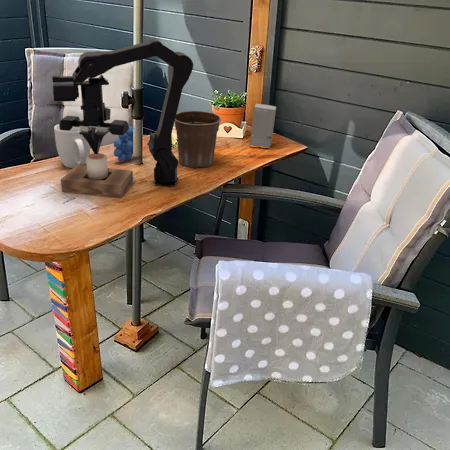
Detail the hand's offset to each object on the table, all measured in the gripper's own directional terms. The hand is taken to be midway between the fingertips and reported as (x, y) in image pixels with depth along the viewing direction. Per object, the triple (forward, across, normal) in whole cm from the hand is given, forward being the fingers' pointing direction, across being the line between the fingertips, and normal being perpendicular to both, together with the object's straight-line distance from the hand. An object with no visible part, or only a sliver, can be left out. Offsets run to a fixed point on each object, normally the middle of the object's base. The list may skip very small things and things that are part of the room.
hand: (96, 153), depth 144 cm
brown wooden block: (+11, 0, 0) cm, 11 cm away
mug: (+11, +13, -15) cm, 23 cm away
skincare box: (+11, -47, -53) cm, 72 cm away
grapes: (+11, -1, -25) cm, 27 cm away
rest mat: (+11, -6, -7) cm, 14 cm away
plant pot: (+11, -25, -29) cm, 40 cm away
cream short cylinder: (+7, 0, 0) cm, 7 cm away
